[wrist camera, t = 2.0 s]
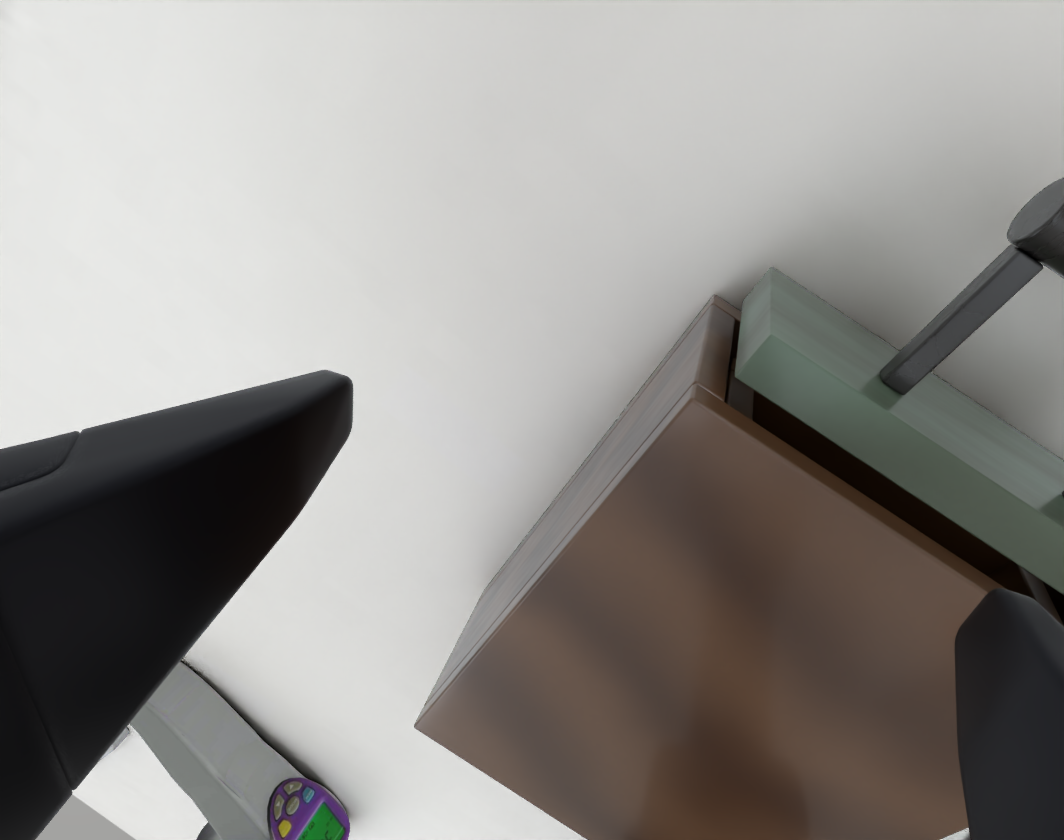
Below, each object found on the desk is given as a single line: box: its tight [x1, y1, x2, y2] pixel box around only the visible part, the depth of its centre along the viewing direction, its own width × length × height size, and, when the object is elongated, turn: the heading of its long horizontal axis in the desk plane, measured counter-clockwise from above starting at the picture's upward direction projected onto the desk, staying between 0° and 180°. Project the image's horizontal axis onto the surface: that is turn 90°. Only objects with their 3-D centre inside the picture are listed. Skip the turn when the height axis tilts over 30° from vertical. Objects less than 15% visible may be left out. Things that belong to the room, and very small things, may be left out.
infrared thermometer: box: [130, 662, 350, 840], centre depth 40 cm, size 5×12×15 cm
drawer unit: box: [414, 295, 1064, 840], centre depth 21 cm, size 16×13×7 cm
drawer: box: [724, 178, 1064, 627], centre depth 18 cm, size 19×11×5 cm, turn 150°
